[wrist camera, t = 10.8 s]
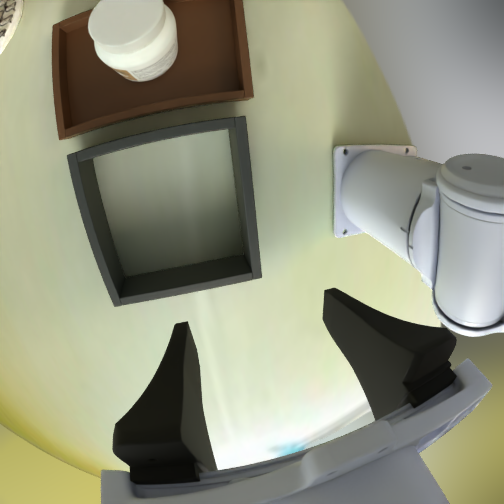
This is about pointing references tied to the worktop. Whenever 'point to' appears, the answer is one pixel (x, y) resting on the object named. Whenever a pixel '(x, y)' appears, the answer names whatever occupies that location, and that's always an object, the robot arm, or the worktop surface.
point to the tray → (161, 88)
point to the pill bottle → (134, 37)
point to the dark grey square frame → (180, 277)
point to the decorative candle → (9, 20)
